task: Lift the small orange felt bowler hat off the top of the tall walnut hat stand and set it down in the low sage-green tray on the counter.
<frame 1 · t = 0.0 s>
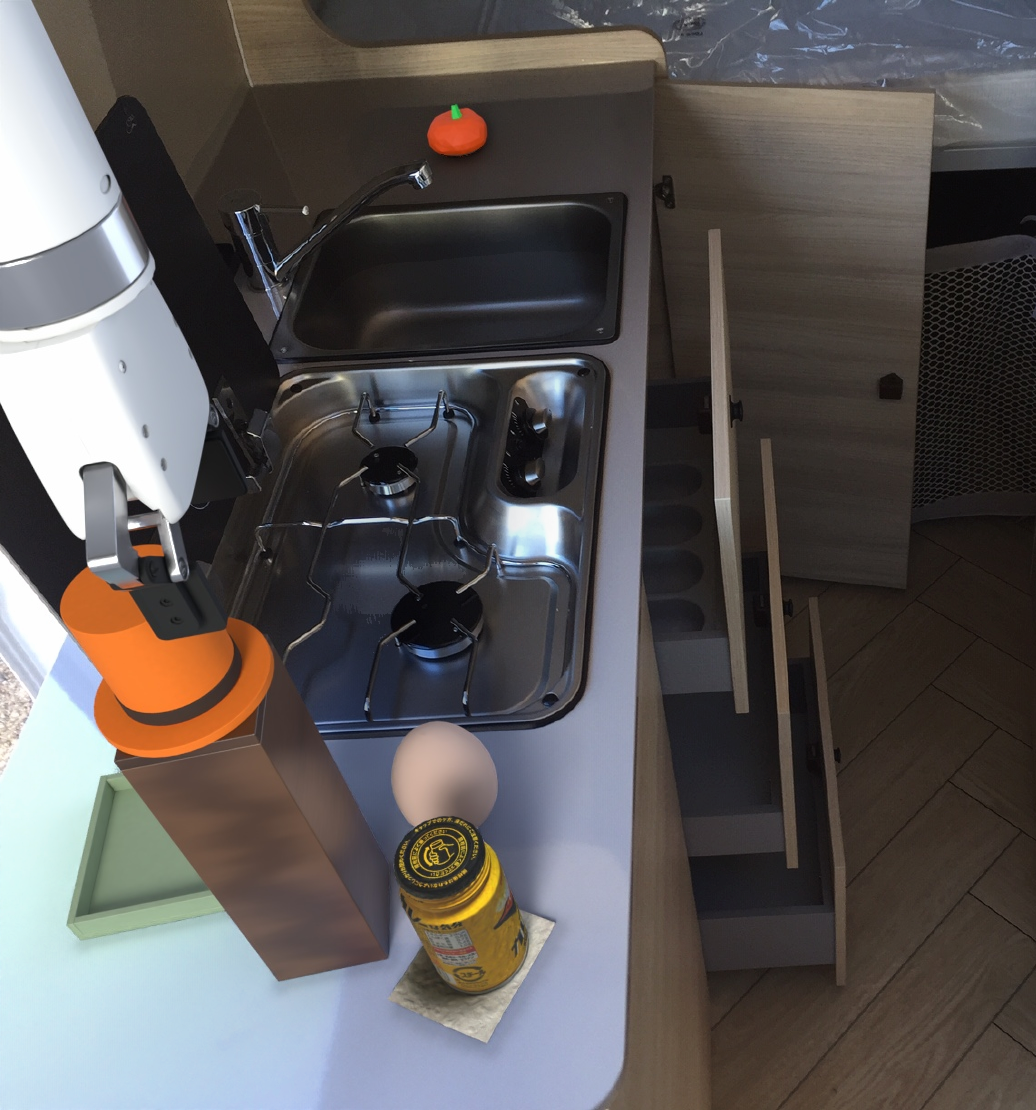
hand: (208, 559, 60), 31 cm above the counter, tool pointing down, fingers open, 9 cm apart
stand: (336, 921, 80), on the counter
condiment: (474, 963, 77), on the counter
egg: (461, 820, 85), on the counter
hat: (187, 687, 63), point 24 cm above the counter, touching stand
tray: (184, 845, 85), on the counter
pumpkin: (462, 154, 158), on the counter
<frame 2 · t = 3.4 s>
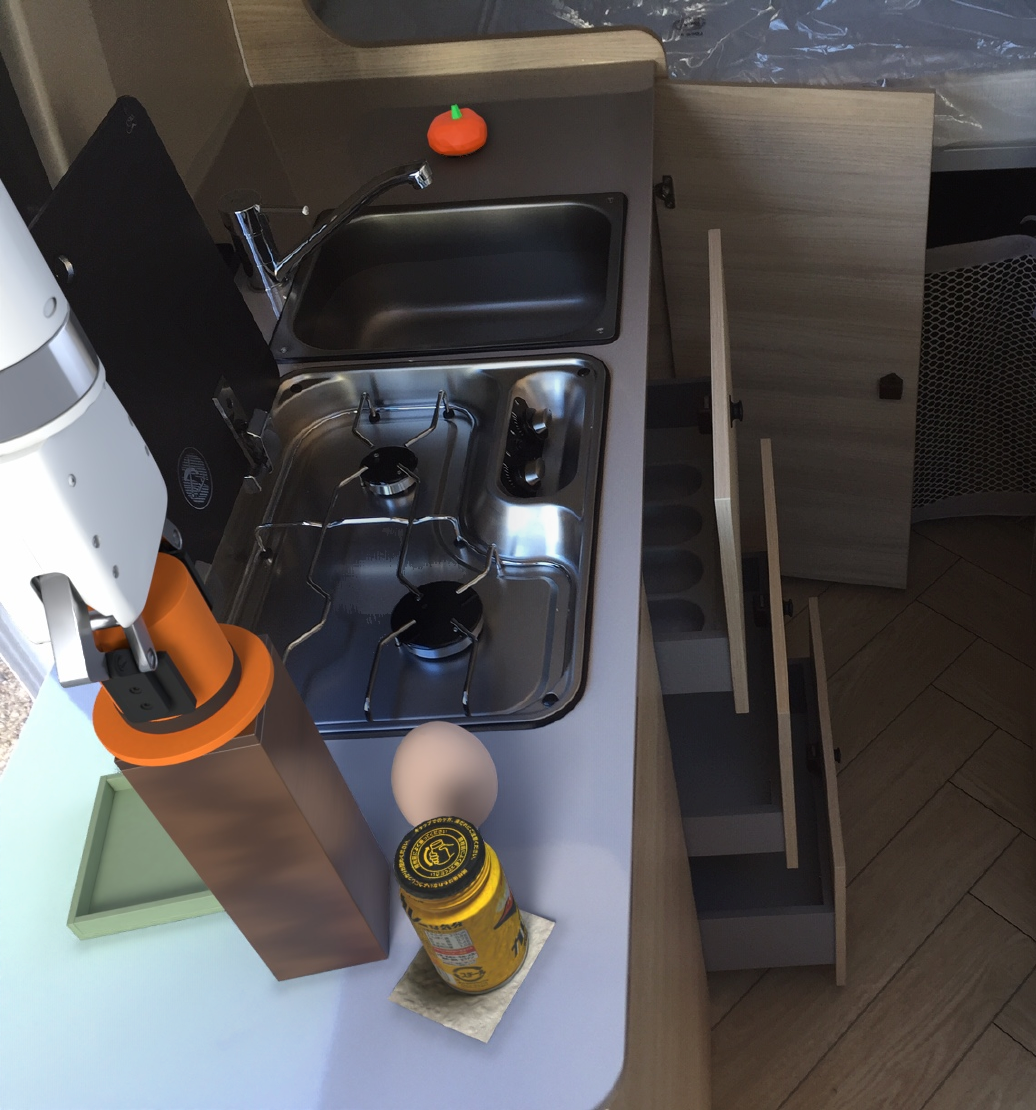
hand: (174, 659, 61), 27 cm above the counter, tool pointing down, fingers closed on hat, 6 cm apart
hat: (186, 695, 63), point 24 cm above the counter, touching gripper, stand
everything else where it was.
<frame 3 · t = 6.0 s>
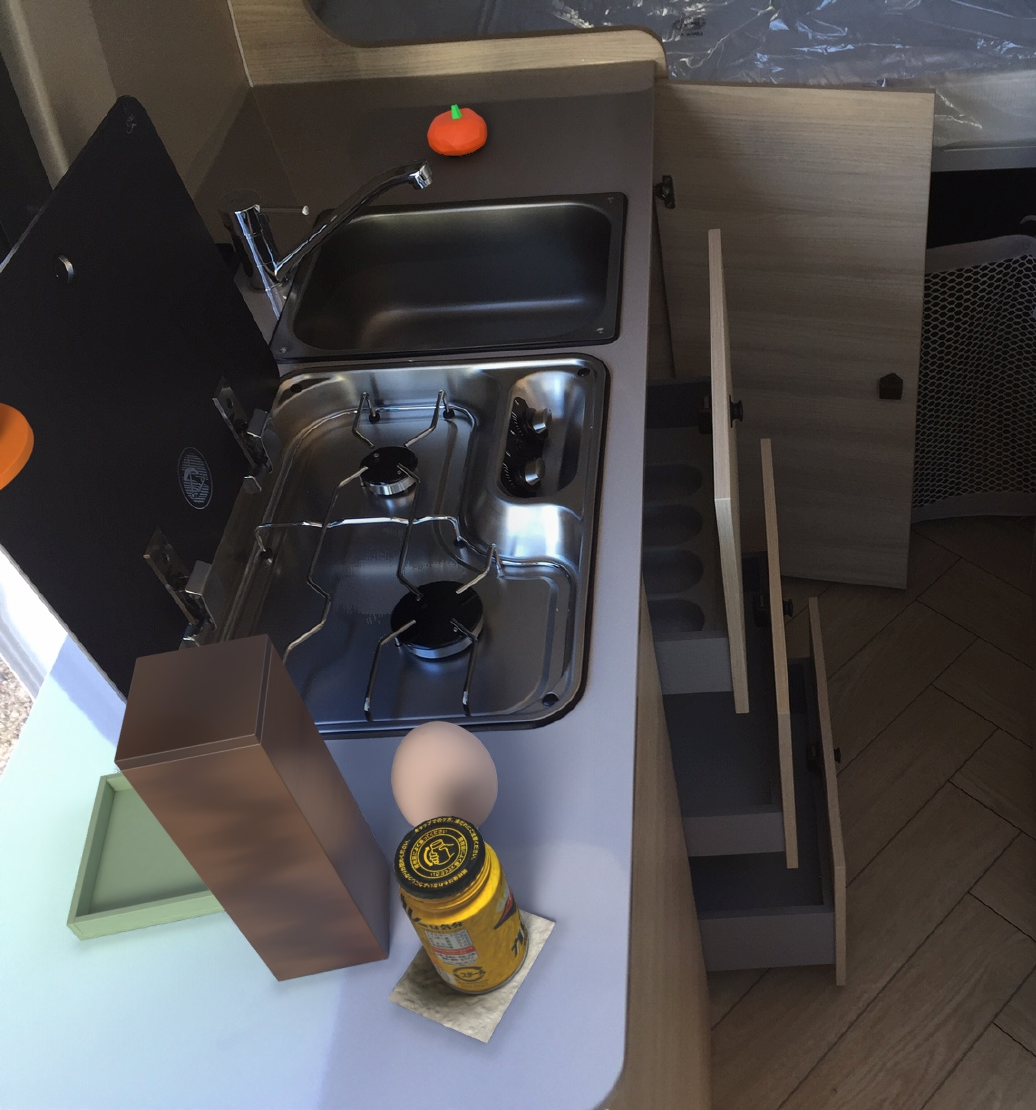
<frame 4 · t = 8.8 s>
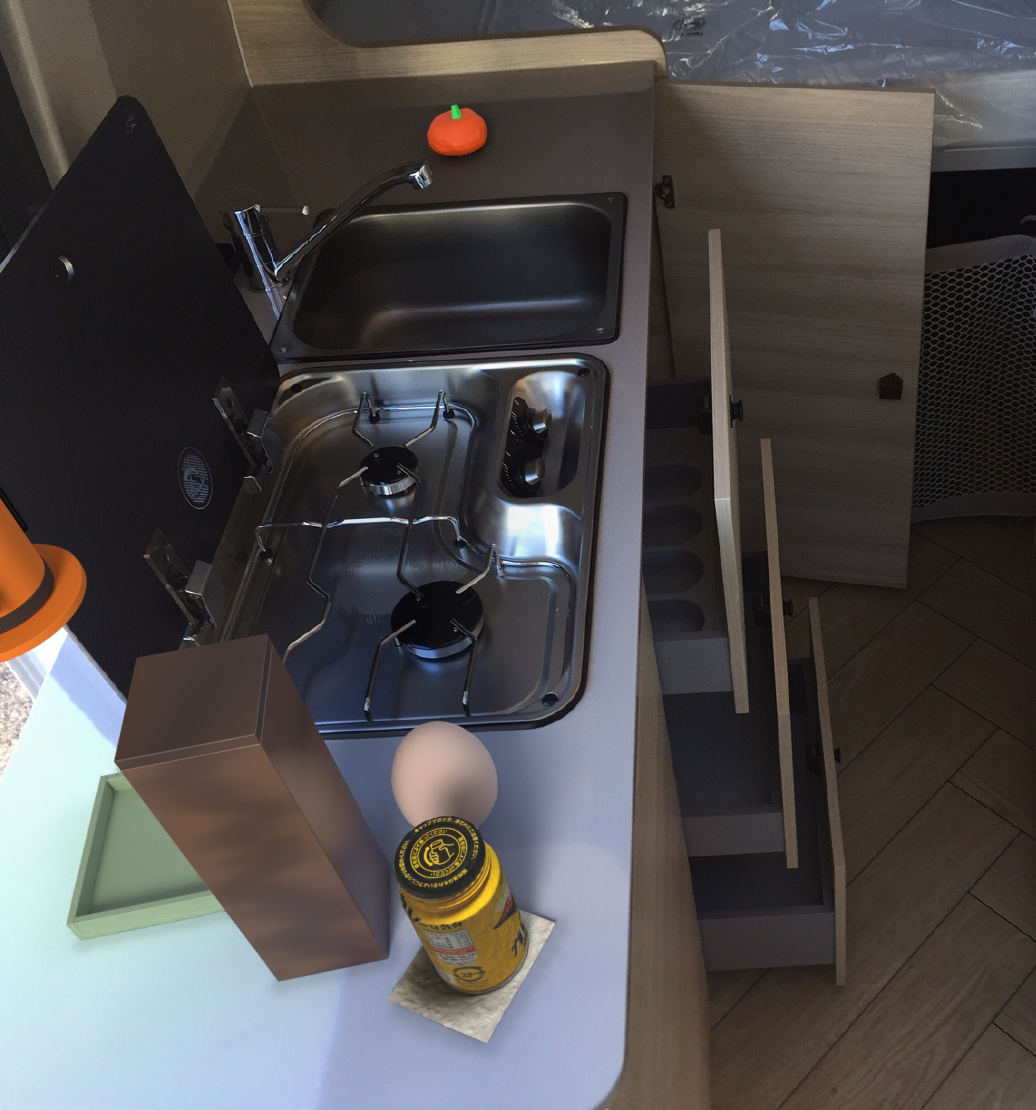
hat: (3, 607, 67), point 25 cm above the counter, touching gripper
everything else where it was.
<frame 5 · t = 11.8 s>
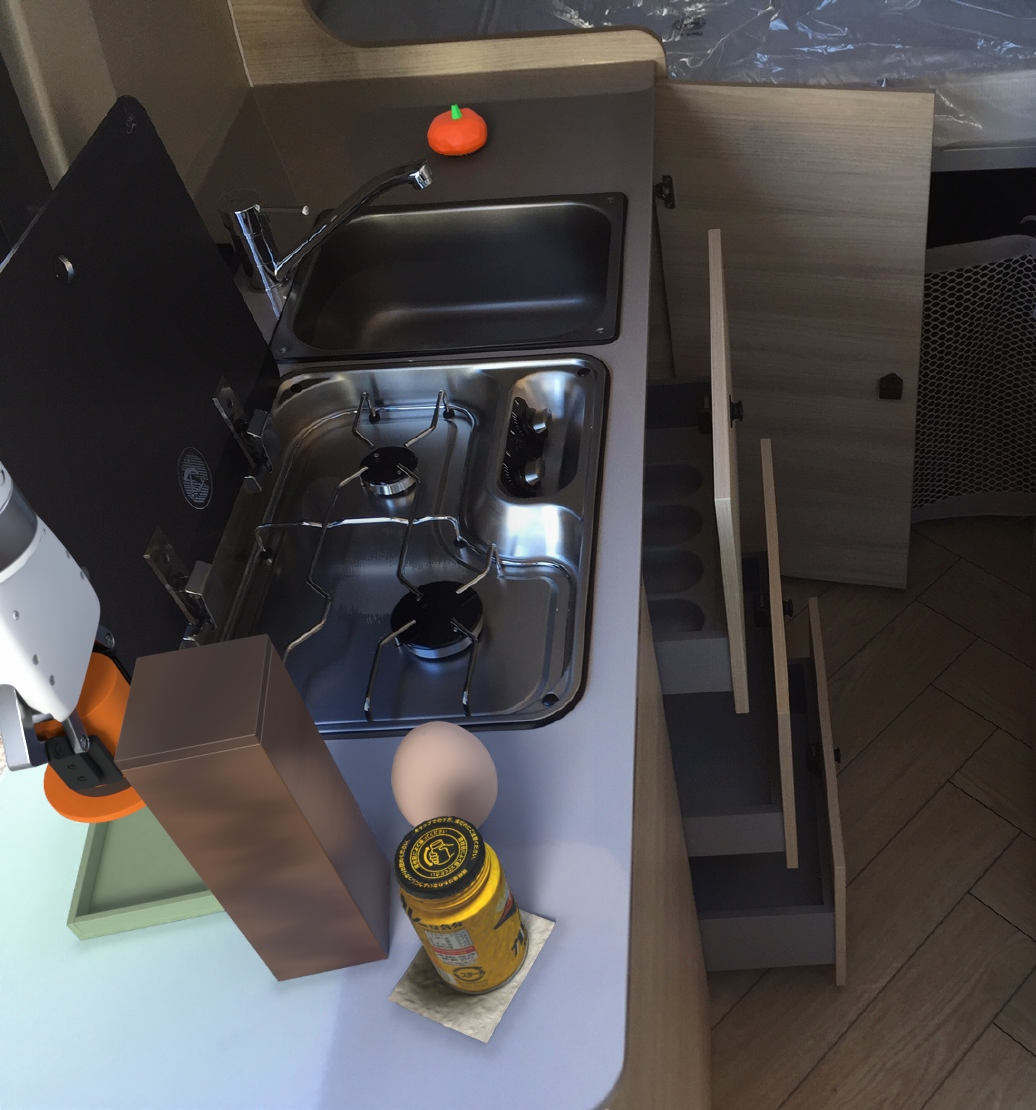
hand: (108, 736, 76), 13 cm above the counter, tool pointing down, fingers closed on hat, 6 cm apart
hat: (120, 763, 78), point 10 cm above the counter, touching gripper
everything else where it was.
when the fingers open (3 cm above the counter, at t = 14.4 s): hat stays where it is, resting on tray.
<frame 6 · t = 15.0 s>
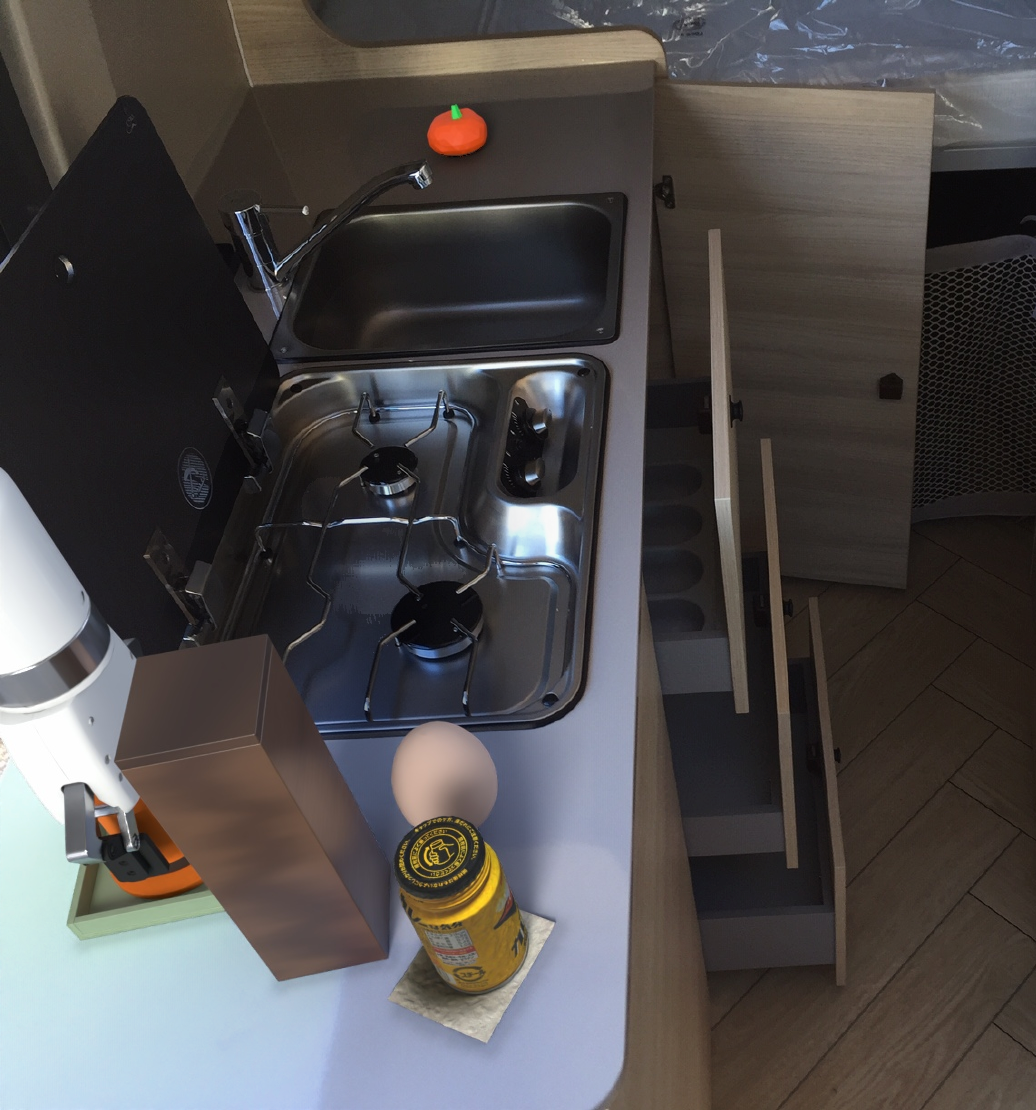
hand: (157, 812, 82), 4 cm above the counter, tool pointing down, fingers open, 9 cm apart
hat: (178, 841, 84), point 1 cm above the counter, touching tray
everything else where it was.
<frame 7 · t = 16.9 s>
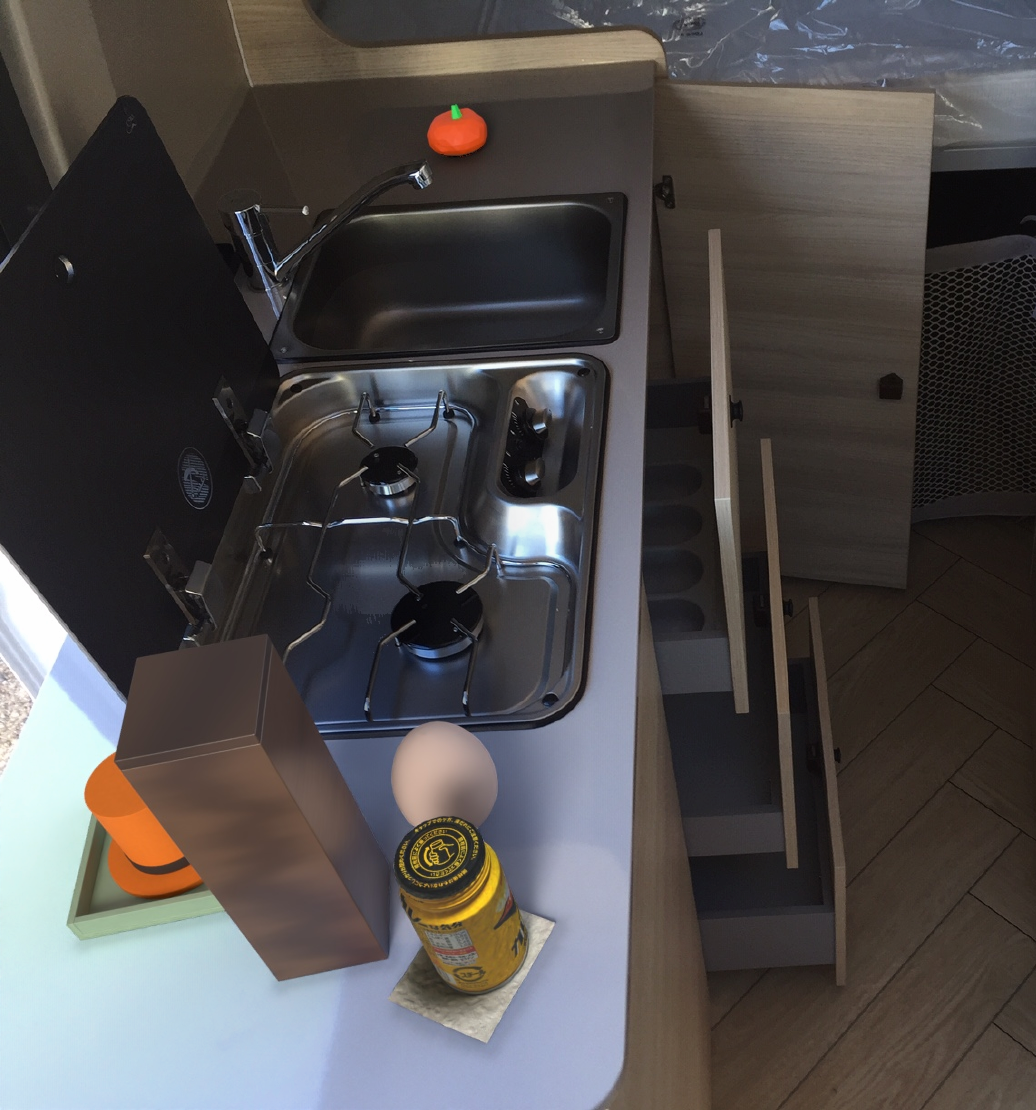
nothing on the counter moved.
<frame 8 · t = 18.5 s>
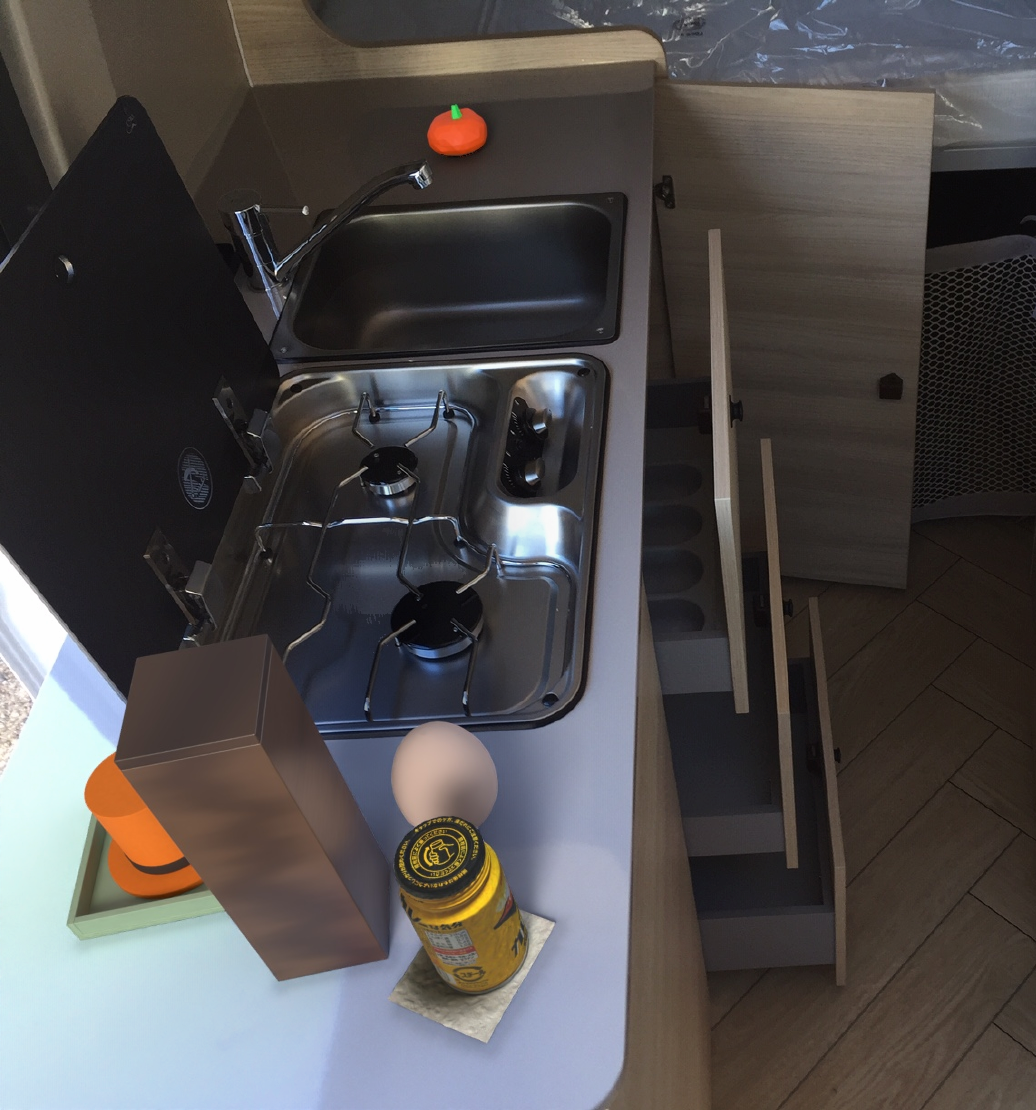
nothing on the counter moved.
at the end: hat inside the target area in the tray (0.2 cm from its centre), point 0.6 cm above the tray's base; hat tilted 0° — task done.
